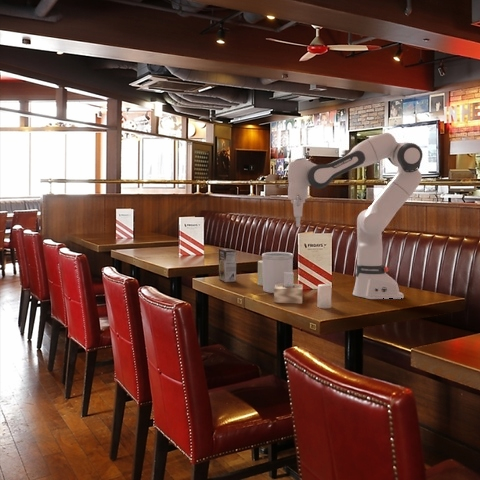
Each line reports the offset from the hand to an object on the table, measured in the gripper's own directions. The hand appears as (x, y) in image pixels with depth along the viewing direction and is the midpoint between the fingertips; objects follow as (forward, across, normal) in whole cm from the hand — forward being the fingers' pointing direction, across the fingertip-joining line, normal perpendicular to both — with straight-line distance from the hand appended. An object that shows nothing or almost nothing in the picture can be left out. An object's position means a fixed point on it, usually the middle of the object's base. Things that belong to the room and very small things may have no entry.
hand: (298, 225), depth 247 cm
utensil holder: (+32, +9, +10) cm, 34 cm away
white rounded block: (+32, -22, -10) cm, 40 cm away
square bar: (+31, -11, +4) cm, 34 cm away
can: (+31, +24, +16) cm, 43 cm away
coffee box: (+31, +32, +37) cm, 58 cm away
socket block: (+31, -11, +4) cm, 34 cm away
